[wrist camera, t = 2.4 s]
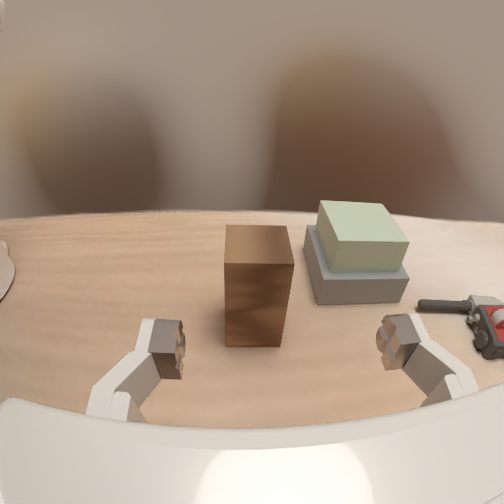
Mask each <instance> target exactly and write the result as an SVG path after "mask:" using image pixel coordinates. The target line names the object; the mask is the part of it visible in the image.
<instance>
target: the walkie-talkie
mask: <svg viewBox="0 0 504 504" xmlns="http://www.w3.org/2000/svg"><path fill="white" fill-rule="evenodd" d="M418 307H419V308H428V309H454V310H462V311H467V312H468V314H469V316H468V317H467V319H466V321H467V323H470V325H471V328H472V330H473V333H474V335H475V345H476V347H477V348H478V349H480V351H481V353H482V356H483V358H485V359H486V360H487V359H498V358H504V303H503V302H501V301H499V300H498V299H496V298H494V297H487V296H476V295H470V296H469V298H468V300H463V301H446V300H426V299H421V300H419V301H418Z"/></svg>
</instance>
